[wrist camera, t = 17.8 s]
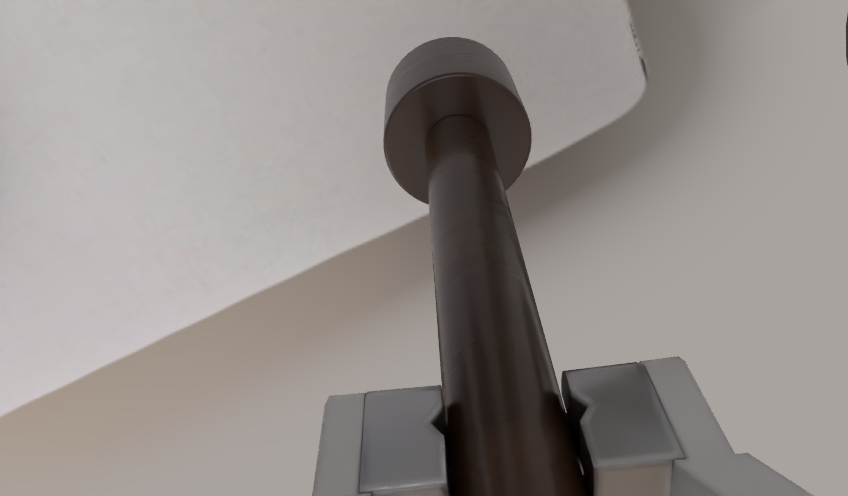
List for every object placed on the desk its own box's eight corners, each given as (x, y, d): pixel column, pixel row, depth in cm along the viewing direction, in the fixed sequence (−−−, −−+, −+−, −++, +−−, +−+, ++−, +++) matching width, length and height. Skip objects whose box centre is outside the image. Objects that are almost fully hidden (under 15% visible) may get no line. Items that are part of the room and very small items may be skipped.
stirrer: (507, 24, 18) (765, 540, 5) (520, 148, 20) (731, 742, 7) (373, 49, 18) (310, 597, 5) (398, 169, 20) (397, 777, 7)
